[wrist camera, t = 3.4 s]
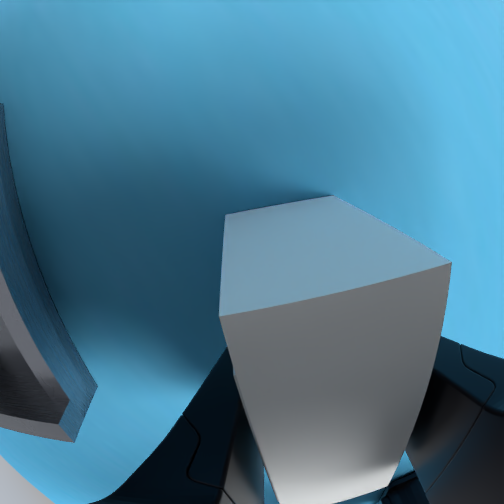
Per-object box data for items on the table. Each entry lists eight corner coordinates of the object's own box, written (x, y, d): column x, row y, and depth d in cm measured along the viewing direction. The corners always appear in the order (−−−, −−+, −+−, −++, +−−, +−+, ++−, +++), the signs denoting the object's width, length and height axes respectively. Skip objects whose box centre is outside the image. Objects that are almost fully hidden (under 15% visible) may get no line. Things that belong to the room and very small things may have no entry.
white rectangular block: (335, 194, 8) (454, 261, 3) (343, 379, 10) (389, 485, 6) (223, 215, 8) (214, 316, 3) (264, 397, 10) (281, 514, 6)
